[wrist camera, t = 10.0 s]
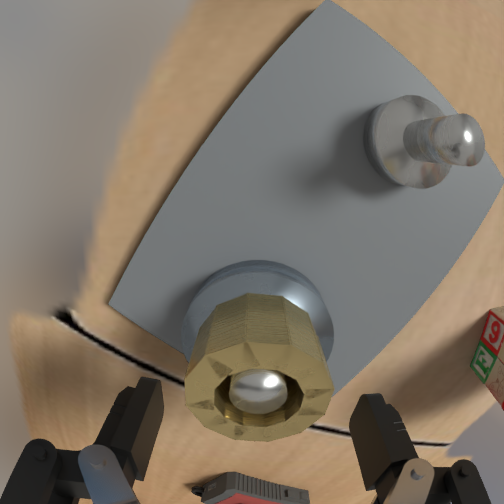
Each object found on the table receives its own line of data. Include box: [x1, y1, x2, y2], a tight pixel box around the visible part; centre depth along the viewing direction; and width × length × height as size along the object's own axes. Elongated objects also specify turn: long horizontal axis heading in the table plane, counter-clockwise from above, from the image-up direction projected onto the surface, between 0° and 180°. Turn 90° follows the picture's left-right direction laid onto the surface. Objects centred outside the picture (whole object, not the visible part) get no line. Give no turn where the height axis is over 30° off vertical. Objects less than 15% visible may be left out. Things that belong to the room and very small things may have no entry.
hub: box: [181, 260, 334, 414], centre depth 14 cm, size 8×8×6 cm
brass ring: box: [184, 293, 335, 442], centre depth 13 cm, size 6×6×4 cm
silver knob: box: [363, 95, 485, 189], centre depth 11 cm, size 5×5×6 cm
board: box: [108, 0, 504, 396], centre depth 15 cm, size 22×16×1 cm
